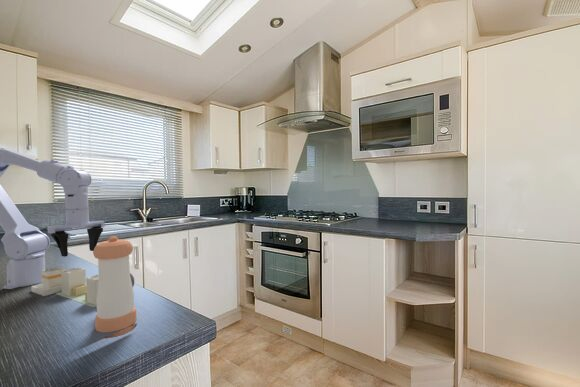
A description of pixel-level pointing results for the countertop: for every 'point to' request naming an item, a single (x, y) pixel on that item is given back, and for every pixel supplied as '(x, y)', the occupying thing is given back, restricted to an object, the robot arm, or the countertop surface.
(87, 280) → the block
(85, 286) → the fuse block
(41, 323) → the countertop surface
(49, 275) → the block
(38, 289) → the tray
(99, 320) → the salt shaker
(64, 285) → the left fuse
